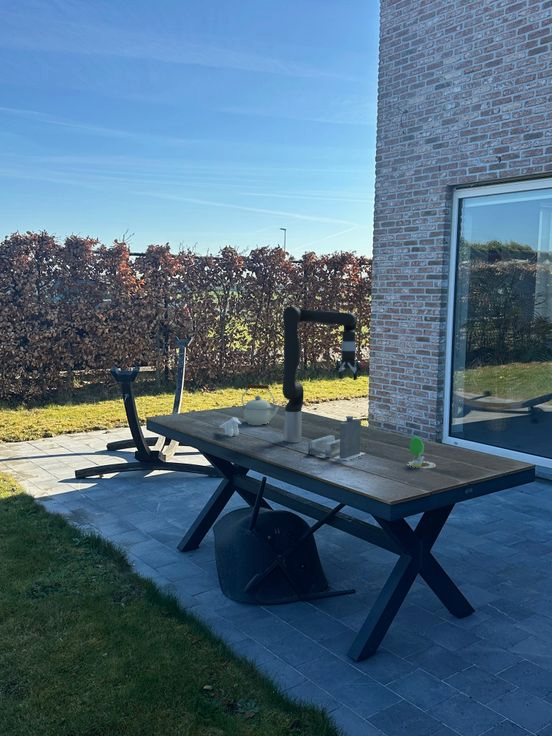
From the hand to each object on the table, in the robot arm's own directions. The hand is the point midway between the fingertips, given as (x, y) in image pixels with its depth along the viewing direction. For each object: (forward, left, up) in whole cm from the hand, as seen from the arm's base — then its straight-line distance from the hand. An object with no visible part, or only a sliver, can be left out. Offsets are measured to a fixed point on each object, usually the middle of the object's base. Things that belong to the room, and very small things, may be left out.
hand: (348, 379), depth 341 cm
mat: (+15, -22, -36) cm, 45 cm away
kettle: (-74, +15, -36) cm, 84 cm away
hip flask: (+15, -22, -36) cm, 44 cm away
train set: (+50, -13, -37) cm, 63 cm away
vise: (+3, -22, -36) cm, 42 cm away
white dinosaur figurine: (-66, -23, -36) cm, 79 cm away
